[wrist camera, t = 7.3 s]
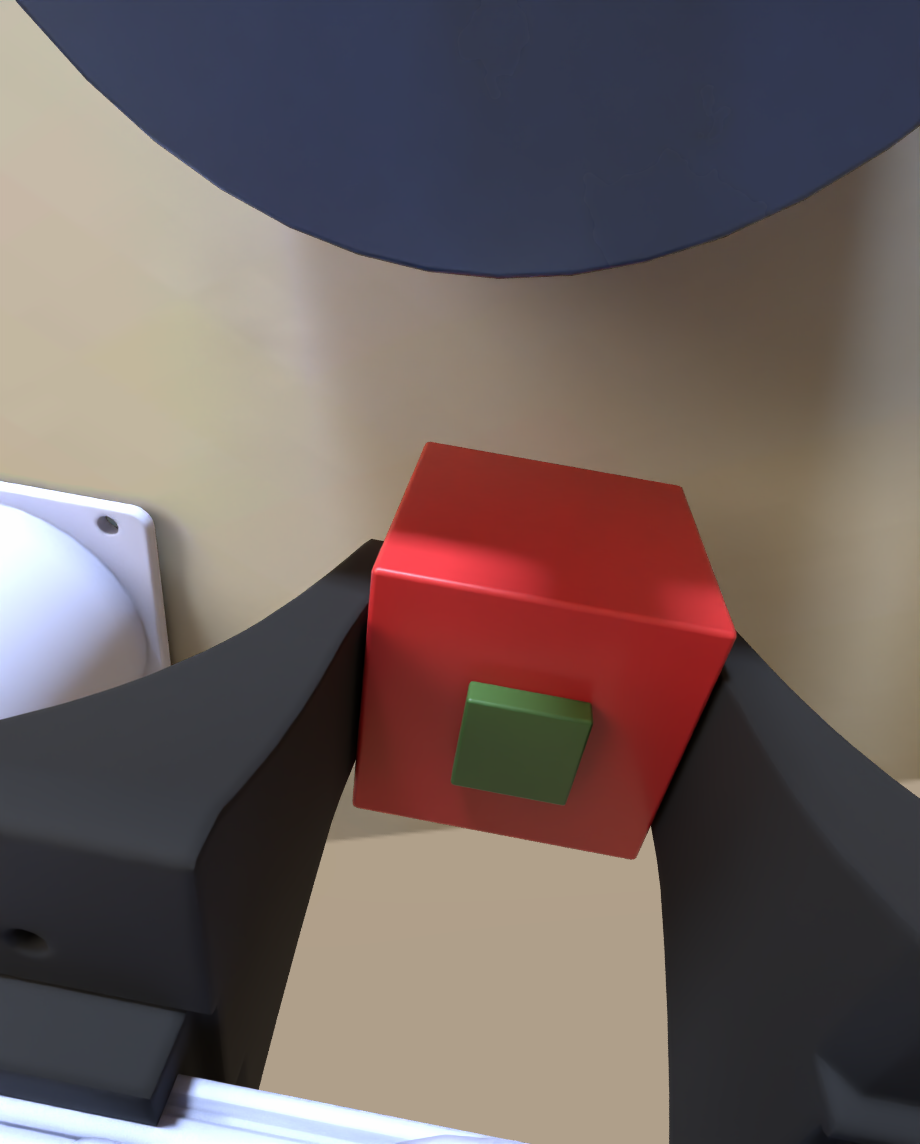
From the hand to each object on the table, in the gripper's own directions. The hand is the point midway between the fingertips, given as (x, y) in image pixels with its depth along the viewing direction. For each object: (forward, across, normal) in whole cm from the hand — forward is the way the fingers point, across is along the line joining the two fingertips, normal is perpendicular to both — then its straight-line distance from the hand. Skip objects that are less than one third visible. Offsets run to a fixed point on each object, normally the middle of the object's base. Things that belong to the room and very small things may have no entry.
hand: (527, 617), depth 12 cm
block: (+1, 0, 0) cm, 1 cm away
